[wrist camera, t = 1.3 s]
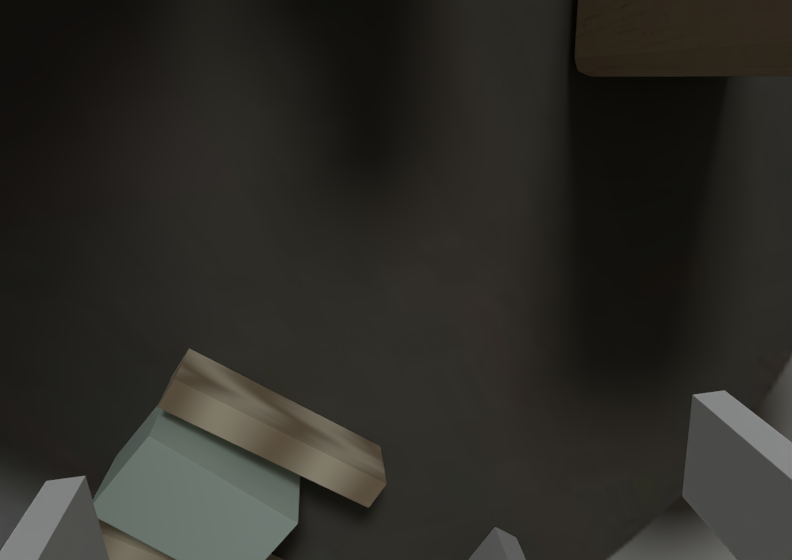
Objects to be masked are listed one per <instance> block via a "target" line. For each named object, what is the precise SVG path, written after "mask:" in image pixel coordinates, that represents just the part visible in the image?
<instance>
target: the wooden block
mask: <svg viewBox="0 0 792 560" xmlns="http://www.w3.org/2000/svg"><path fill="white" fill-rule="evenodd" d="M574 59H575V63H576V67H577V70H578V71H579V72H581V73H583V74H585V75H588V76H590V77H684V76H792V0H578V8H577V24H576V40H575V57H574Z"/></svg>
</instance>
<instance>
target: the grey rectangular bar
mask: <svg viewBox="0 0 792 560" xmlns="http://www.w3.org/2000/svg"><path fill="white" fill-rule="evenodd" d="M468 560H526V559H525V557H524V554H523V552H522V550H521V548H520V545H519V543H518V541H517V538H516V537H514V536H512V535H510V534H508V533H506V532H504V531H502V530H500V529H498V528H496V527H494V528H493V530H492V531H491V532H490V533H489V535H488V536H487V537H486V538H485V540H484V541H483V542H482V543H481V545H480V546H479V547H478V548H477V549H476V551H475V552H474V553H473V554H472V556H471V557H470V558H469V559H468Z"/></svg>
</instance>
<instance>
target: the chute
mask: <svg viewBox="0 0 792 560" xmlns="http://www.w3.org/2000/svg"><path fill="white" fill-rule="evenodd" d="M157 407H158V408H160V409H162V410H164V411H166V412H169V413H171V414H173V415H175V416H177V417H179V418H181V419H183V420H185V421H187V422H189V423H192V424H194V425H196V426H198V427H200V428H202V429H204V430H206V431H208V432H210V433H213V434H215V435H217V436H219V437H221V438H223V439H225V440H227V441H229V442H231V443H233V444H236V445H238V446H240V447H242V448H244V449H246V450H248V451H250V452H252V453H254V454H257V455H259V456H261V457H263V458H265V459H267V460H269V461H271V462H273V463H275V464H277V465H280V466H282V467H284V468H286V469H288V470H290V471H292V472H294V473H296V474H298V475H301V476H303V477H305V478H307V479H309V480H311V481H313V482H315V483H317V484H319V485H321V486H324V487H326V488H328V489H330V490H332V491H334V492H336V493H338V494H340V495H342V496H345V497H347V498H349V499H351V500H353V501H355V502H357V503H359V504H361V505H363V506H365V507H368V508H369V507H370V505H371V504H372V503H373V501H374V500H375V499H376V497H377V496H378V495H379V493H380V492H381V491H382V489H383V488H384V487H385V485H386V484H387V483H386V478H385V472H384V466H383V460H382V454H381V448H380V446H378V445H377V444H375V443H373V442H371V441H369V440H367V439H365V438H363V437H361V436H359V435H357V434H355V433H353V432H351V431H349V430H347V429H345V428H343V427H341V426H340V425H338V424H336V423H334V422H332V421H330V420H328V419H326V418H324V417H322V416H320V415H318V414H316V413H314V412H312V411H310V410H308V409H306V408H304V407H302V406H301V405H299V404H297V403H295V402H293V401H291V400H289V399H287V398H285V397H283V396H281V395H279V394H277V393H275V392H273V391H271V390H269V389H267V388H265V387H264V386H262V385H260V384H258V383H256V382H254V381H252V380H250V379H248V378H246V377H244V376H242V375H240V374H238V373H236V372H234V371H232V370H230V369H228V368H226V367H225V366H223V365H221V364H219V363H217V362H215V361H213V360H211V359H209V358H207V357H205V356H203V355H201V354H199V353H197V352H195V351H193V350H191V349H188V351H187V353H186V354H185V356H184V357H183V359H182V361H181V362H180V364H179V365H178V367H177V369H176V370H175V372H174V373H173V375H172V377H171V379H170V381H169V384H168V386H167V388H166V390H165V392H164V394H163V396H162V398H161V400H160V402H159V404H158V406H157ZM98 521H99V525H100V528H101V532H102V535H103V539H104V542H105V546H106V549H107V553H108V556H109V560H176V559H174V558H172V557H170V556H168V555H167V554H165V553H163V552H161V551H159V550H157V549H155V548H153V547H151V546H150V545H148V544H146V543H144V542H142V541H140V540H138V539H136V538H134V537H133V536H131V535H129V534H127V533H125V532H123V531H121V530H119V529H117V528H116V527H114V526H112V525H110V524H108V523H106V522H104V521H102V520H100V519H99V518H98ZM265 560H284V559H282V558H279V557H277V556H275V555H272V554H270V555H269V556H268V557H267V558H266V559H265Z"/></svg>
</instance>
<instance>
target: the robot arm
mask: <svg viewBox="0 0 792 560" xmlns="http://www.w3.org/2000/svg"><path fill="white" fill-rule="evenodd" d="M682 496H683V497H684V499H685V500H686V501H687V502H688V503H689V504H690V506H691V507H692V508H693V509H694V510H695V511H696V512H697V514H698V515H699V516H700V517H701V518H702V519H703V521H704V522H705V523H706V524H707V525H708V526H709V527H710V529H711V530H712V531H713V532H714V533H715V534H716V536H717V537H718V538H719V539H720V540H721V541H722V542H723V544H724V545H725V546H726V547H727V548H728V549H729V551H730V552H731V553H732V554H733V555H734V556H735V558H736V559H737V560H792V443H791V442H790V441H789V440H788V439H786V438H785V437H784V436H782V435H781V434H780V433H779V432H777V431H776V430H775V429H773V428H772V427H771V426H769V425H768V424H767V423H766V422H764V421H763V420H762V419H760V418H759V417H758V416H757V415H756V414H754V413H753V412H752V411H750V410H749V409H748V408H747V407H745V406H744V405H743V404H741V403H740V402H739V401H738V400H736V399H735V398H734V397H732V396H731V395H730V394H729V393H727V392H726V391H725V390H724V391H717V392H709V393H702V394H694V395H693V396H692V405H691V415H690V425H689V435H688V445H687V455H686V464H685V474H684V484H683V494H682ZM0 560H109V556H108V553H107V549H106V546H105V542H104V539H103V535H102V532H101V528H100V525H99V521H98V518H97V514H96V511H95V507H94V504H93V500H92V497H91V493H90V490H89V486H88V483H87V479H86V476H79V477H72V478H64V479H57V480H49V481H46V482H45V484H44V485H43V487H42V488H41V490H40V491H39V493H38V494H37V496H36V497H35V499H34V500H33V502H32V503H31V505H30V506H29V508H28V509H27V511H26V513H25V514H24V516H23V517H22V519H21V520H20V522H19V523H18V525H17V526H16V528H15V529H14V531H13V532H12V534H11V535H10V537H9V538H8V540H7V541H6V543H5V545H4V546H3V548H2V549H1V551H0Z"/></svg>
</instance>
